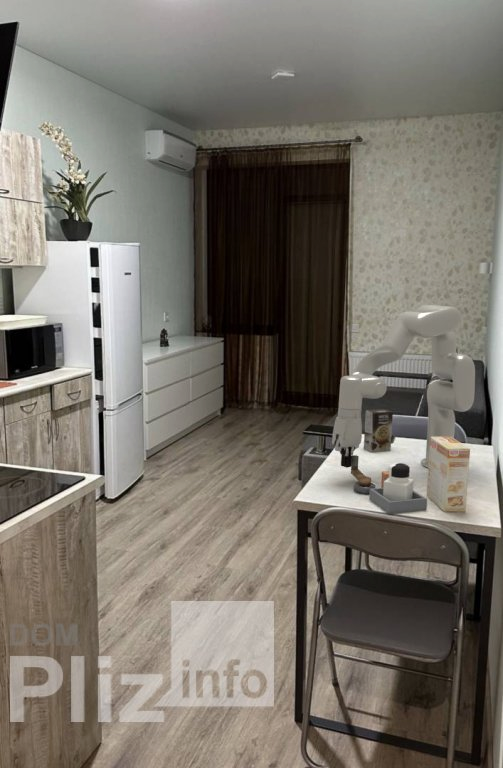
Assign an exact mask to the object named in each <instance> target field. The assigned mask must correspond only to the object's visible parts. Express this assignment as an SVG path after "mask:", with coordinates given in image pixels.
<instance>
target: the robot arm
mask: <svg viewBox="0 0 503 768" xmlns="http://www.w3.org/2000/svg"><path fill="white" fill-rule="evenodd" d="M461 322H462V315H461V312H460V311H459V309H458V308H456V307H453V306H450V305H446V306H445V305H439V304H438V305H437V304H424V305H421V306H419V307H418V308H417V310H416V311H409V310H408V311H404V312H402V313H400V314H399V315H398V316H397V318H396V319H395V321H394V322H393V324H392V325H391V327H390V328H389V330H388V332H387V333H386V335H385V337H384V339H383V340H382V341H381V343H380V345H378V346H377V347H375V348H373V349H372V350H371V351H370V352H368V353H367V354H366V355H365V356H364V357H362V358H361V359H360V360H359V362H358V363H357V364H356V366H355V368H354V369H353V370H352V372H351V374H350V375H344V376H342V377H340V381H339V382H340V384H339V395H338V397H339V398H338V411H337V416H336V417H335V420H334V425H333V430H332V436H331V437H332V439H331V445H332V446H334V451H336V452H339V454H340V456H341V457H340V466H341V467H343V468H346V469H348V468H351V458H352V455H354V451H355V450H357V449H358V448H360V445H361V443H362V438H363V424H362V423H363V422H362V408H363V407H362V406H363V405H362V404H363V399H364V398H365V399H372V400H375V399H380V398H382V397H383V396H385V394H386V392H387V389H388V386H387V383H386V381H385V380H384V379H383V378H381V377H379V376H377V375H373V374H374V373H375V372H376V371H377V370H378V369H379V368H382V367H383V366H385V365H389V364H392V363H395V362H397V361H399V360H401V359H402V358H403V357H404V356H405V353H406V352H407V350H408V348H409V347H410V345H411V344H412V342H413V341H414V339H415V338H421V339H430V341H431V342H430V344H431V352H430V353H431V357H430V363H431V367H430V368H431V371H432V375H434V376H436V377H439V378H442V379H447V380H450V381H446V380H435V381H432V382H431V384H429V386H428V388H427V389H426V390H427V391H426V399H427V400H426V402H427V409H428V417H427V434H426V447H425V450H426V451H425V458H423V459H421V460H420V464H421V465H422V466H423V467H425V468H427V469H429V454H430V438H431V437H452V438H454V439H455V428H456V415H455V412H454V411H456V412H460V413H461V412H462V413H463V412H467V411H469V410H470V409H471V408H472V406H473V404H474V402H475V393H476V391H475V390H476V387H475V386H476V383H475V381H476V366H475V363H474V361H473V359H472V357H470V356H468V355H467V354H463V353H458V352H457V339H456V338H457V337H456V334H455V331H456V329H458V328H459V326H460V324H461ZM451 380H452V382H451Z"/></svg>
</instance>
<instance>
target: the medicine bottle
mask: <svg viewBox="0 0 503 768" xmlns="http://www.w3.org/2000/svg"><path fill="white" fill-rule="evenodd" d="M388 467H389V468H388V471H389V478H388V479H387V480H385V481H384V488H383V496H384V497H385V498H387V499H388V500H390V501H398V500H409V499H412V496H413V490H414V479H413V478H410V470H411V469H410V466H409V465H408V464H405V463H403V462H401V463H400V462H395V463H392V464H390V465H389V466H388Z"/></svg>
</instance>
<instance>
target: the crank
mask: <svg viewBox="0 0 503 768" xmlns="http://www.w3.org/2000/svg"><path fill="white" fill-rule="evenodd" d="M351 456H352V458H351V467H350V474H351V475H352V476H353V478H355V479H356V480H357V482H359V485H361V486H370V485H371V483H372V477H371V476H366V475H365V474H364V473H363V472H362V471H361V470H360V469H359V455H356V454H353V455H351Z"/></svg>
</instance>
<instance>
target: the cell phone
mask: <svg viewBox="0 0 503 768" xmlns="http://www.w3.org/2000/svg"><path fill="white" fill-rule="evenodd" d="M395 440H396V434H395V435H394V434H392V435H391V445H392V444H394V441H395Z"/></svg>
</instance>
